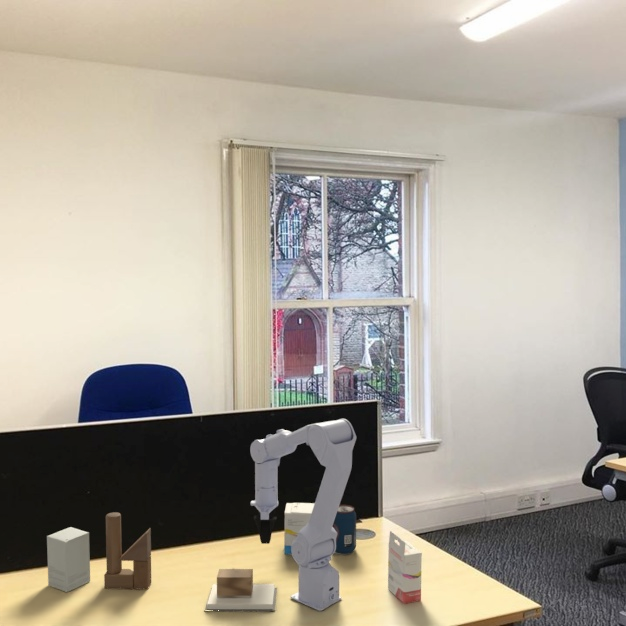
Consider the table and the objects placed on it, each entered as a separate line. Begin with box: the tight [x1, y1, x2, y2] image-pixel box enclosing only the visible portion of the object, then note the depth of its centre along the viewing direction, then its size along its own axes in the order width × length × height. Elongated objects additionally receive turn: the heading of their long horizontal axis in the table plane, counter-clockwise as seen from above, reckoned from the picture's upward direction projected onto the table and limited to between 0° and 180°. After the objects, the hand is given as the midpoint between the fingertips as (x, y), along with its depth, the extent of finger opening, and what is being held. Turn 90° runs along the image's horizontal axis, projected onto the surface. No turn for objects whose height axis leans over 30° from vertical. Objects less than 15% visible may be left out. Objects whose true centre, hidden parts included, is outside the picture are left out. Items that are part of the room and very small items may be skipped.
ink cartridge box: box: [387, 530, 423, 604], centre depth 166 cm, size 9×5×15 cm, turn 21°
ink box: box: [283, 502, 315, 555], centre depth 193 cm, size 9×8×12 cm
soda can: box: [332, 504, 357, 556], centre depth 191 cm, size 7×7×12 cm
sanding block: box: [216, 568, 254, 598], centre depth 163 cm, size 8×4×5 cm, turn 90°
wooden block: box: [103, 511, 152, 590], centre depth 170 cm, size 4×11×18 cm, turn 88°
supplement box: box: [46, 526, 91, 593], centre depth 171 cm, size 7×7×13 cm
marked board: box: [204, 583, 278, 613], centre depth 163 cm, size 16×11×2 cm
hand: (266, 537), depth 177 cm, fingers open, 7 cm apart
